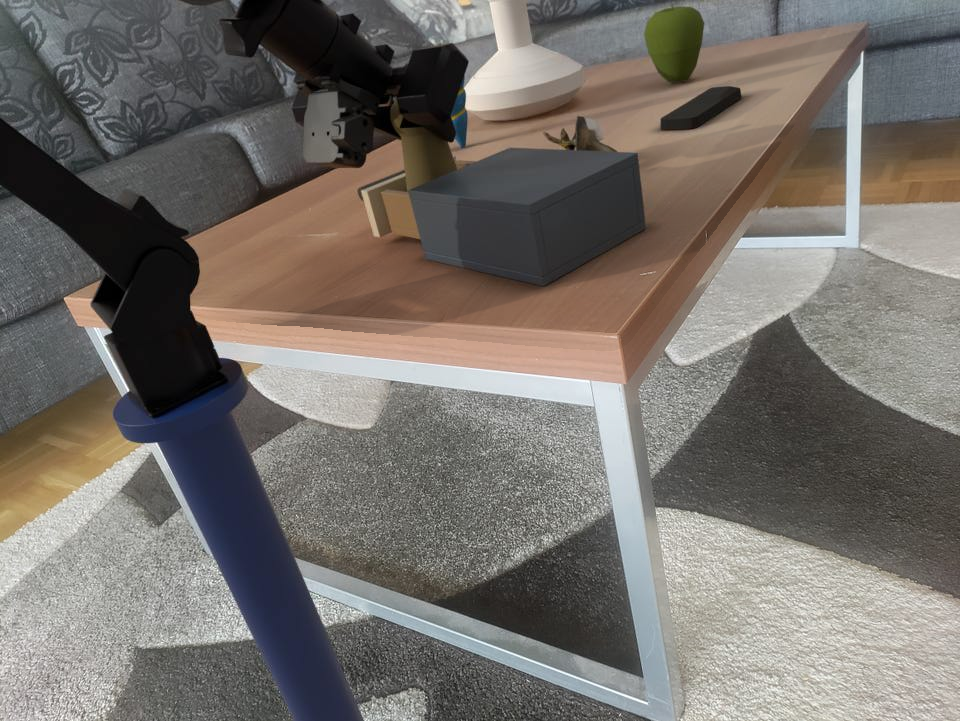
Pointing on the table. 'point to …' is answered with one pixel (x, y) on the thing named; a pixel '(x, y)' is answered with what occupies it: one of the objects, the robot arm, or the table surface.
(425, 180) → the cork
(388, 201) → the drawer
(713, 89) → the remote control
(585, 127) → the eagle figurine
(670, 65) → the apple
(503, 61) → the candle holder
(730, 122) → the table surface
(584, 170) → the cabinet
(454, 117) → the ornament
